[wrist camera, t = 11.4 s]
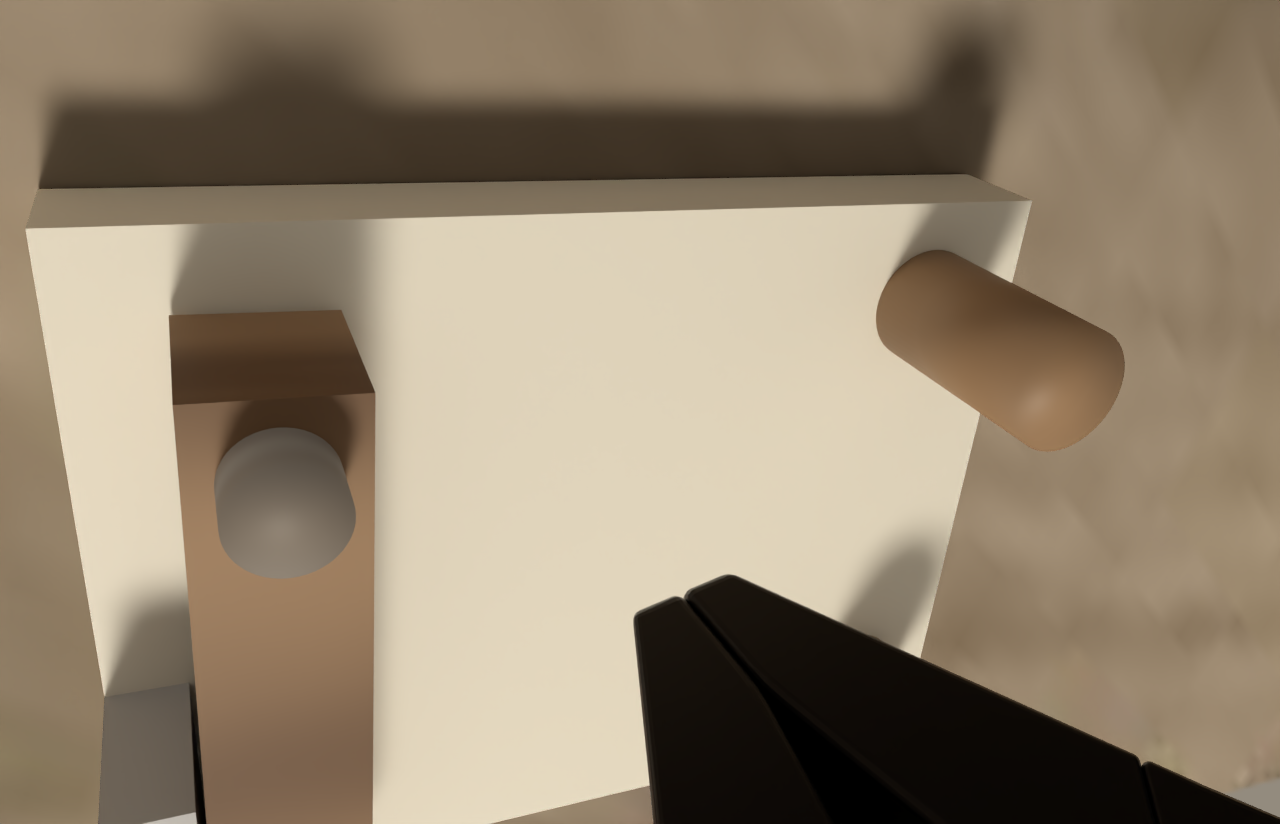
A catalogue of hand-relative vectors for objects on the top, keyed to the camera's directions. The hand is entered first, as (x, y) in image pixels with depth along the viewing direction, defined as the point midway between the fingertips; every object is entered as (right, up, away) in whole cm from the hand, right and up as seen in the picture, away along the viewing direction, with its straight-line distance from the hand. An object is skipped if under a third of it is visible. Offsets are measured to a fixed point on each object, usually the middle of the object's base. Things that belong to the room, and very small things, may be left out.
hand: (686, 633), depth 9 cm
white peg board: (-2, 0, +14) cm, 14 cm away
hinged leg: (-7, -2, +10) cm, 12 cm away
